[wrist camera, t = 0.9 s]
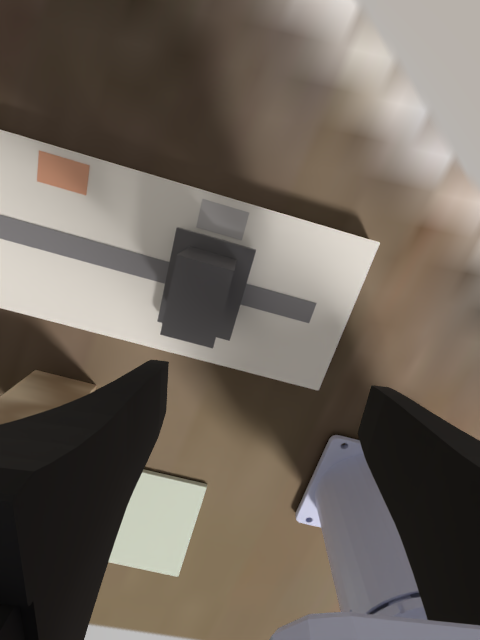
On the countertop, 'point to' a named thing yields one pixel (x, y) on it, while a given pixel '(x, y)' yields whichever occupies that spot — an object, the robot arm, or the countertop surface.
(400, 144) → the countertop surface
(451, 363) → the countertop surface
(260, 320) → the switch panel
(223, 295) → the switch slider
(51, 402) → the block
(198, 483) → the pad
